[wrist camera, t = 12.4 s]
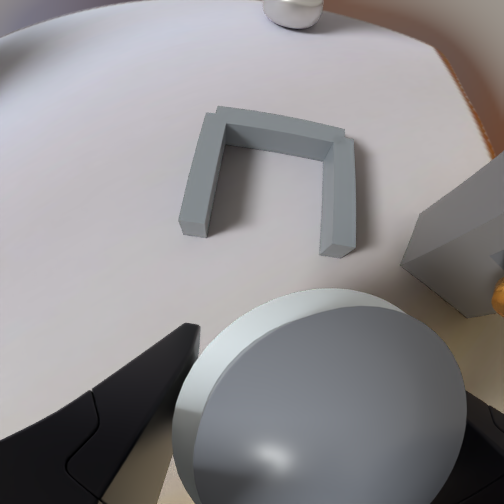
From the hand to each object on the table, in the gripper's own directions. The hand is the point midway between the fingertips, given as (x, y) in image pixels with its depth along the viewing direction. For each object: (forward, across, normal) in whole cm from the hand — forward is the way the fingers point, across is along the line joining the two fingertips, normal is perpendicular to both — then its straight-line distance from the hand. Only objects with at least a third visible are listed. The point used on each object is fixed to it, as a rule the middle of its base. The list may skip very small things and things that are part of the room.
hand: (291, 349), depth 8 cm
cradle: (+14, 0, -1) cm, 14 cm away
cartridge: (+4, 0, -6) cm, 8 cm away
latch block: (+12, +14, -3) cm, 19 cm away
